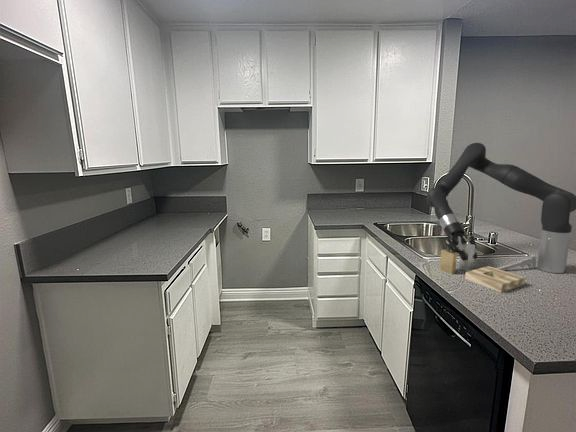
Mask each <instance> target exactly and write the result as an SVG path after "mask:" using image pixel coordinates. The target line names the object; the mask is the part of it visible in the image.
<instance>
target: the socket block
mask: <svg viewBox="0 0 576 432" xmlns="http://www.w3.org/2000/svg"><path fill="white" fill-rule="evenodd" d="M496 268H497V267H496ZM496 268H495V267H492V266H489V265H487V266H485V267H480V268H476V269H473V270H470V271H465V277H464V278H465V280H466V281H469V282H471V283H475V284H477V285H480V286H483V287H484V288H488V289H490V290H494V291H496V292H499V293H504V292H507V291H510V290H512V289H516V288H520V287H522V286H525V281H526V277H524V276H522V275H518V274H515V273H512V272H509V271H507V270H504V271H503V270H499V269H496Z"/></svg>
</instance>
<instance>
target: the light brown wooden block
mask: <svg viewBox="0 0 576 432" xmlns="http://www.w3.org/2000/svg"><path fill="white" fill-rule="evenodd" d="M457 254H458V253H457V252H452V250H449V249H440V261H439V270H440V271H442V272H445V273H448V274H450V275H454V274H455V275H456V271H457V270H456V269H457V257H458V255H457Z"/></svg>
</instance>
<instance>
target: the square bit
mask: <svg viewBox="0 0 576 432" xmlns="http://www.w3.org/2000/svg"><path fill="white" fill-rule="evenodd" d="M461 247H462V251H464V253H465V255H466V256H467V260H465V261H463V260H462V259H461V257H460V256H459V257H458V269H459V270H461V271H464V272H468V271H472V270H474V267H475V266H474V264H475V259H474V255H475V253H476V248H475V245H473V244H469V243H464V244H461Z"/></svg>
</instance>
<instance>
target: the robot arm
mask: <svg viewBox="0 0 576 432" xmlns="http://www.w3.org/2000/svg"><path fill="white" fill-rule="evenodd" d="M486 148H487V147H486V146H485V145H484V144H483V143H482V142H481V143H480V142H474V143H470V144H468V145H467V146H466V147H465V149H464V151H463V152H462V154H461V155H460V156H459V158H458V159H457V161H456V162H455V164H454V165H453V166H452V168H451V169H449V171H448V172H447V174H445V175H444V176H443V178H442V179H440V181H439V182H438V183H437V186H436V187H432V188H430V189H429V190H428V192H427V196H426V204H427V205H428V206H429V208H433V209H434V214H435V217H436V218H437V220H438V222H439V224H440V227H441V228H442V230H443V232H444V234H445V236H446V237H447V239H446V240H445V241H444V243H445V245H446V246H447V247H448V248H449V250H450V251H452V252H455V253H457V254H458V256H459V257H461V259H462V260H463V261H465V260H467V256H466V255H465V253H464V251H462V247H461V244H464V243H469V244H473V245H475V249H477V247H478V246H477V244H476V241H475V238H474V236H473V235H471V236H468V235H466V233H465V228H464V227H463V225H462V224H461V222H460V220H459V219H458V218H457V216H456V215H455V214H454V212H453V210H452V208H451V207H450V205H449V202H448V200H447V199H448V196H449V194H450V193H451V192H452V191H453V190H454V189H455V188H456V187H457V186H458V185H459V183H460V182H461V181H462V179H463V178H464V175H465V173H466V172H467V170H468V169H469V168H471V169H473V170H475V171H478V172H481V173H482V174H484V175H487V176H488V177H490V178H493V180H496V181H498V182H499V183H500V184H502V185H504V186H506V187H508V188H510V189H511V190H513V191H516V192H519V193H523V194H525V195H529V196H531V197H534V198H537V199H539V200H541V202H542V206H541V215H540V222H541V223H540V224H541V233H540V239H539V240H540V241H539V248H538V254H537V255H538V256H537V261H536V268H537V269H538V270H540V271H543V272H547V273H552V274H564V273H565V272H566V267H567V261H568V255H569V248H570V243H571V234H572V228H573V226H572V224H571V223H570V215H571V213H572V212H575V211H576V195H575V194H574V193H572V192H570V191H568V190H566V189H564V188H563V189H562V188H560V187H557V186H554V185H552V184H550V183H548V182H546V181H544V180H542V179H541V178H540V177H538V176H535V175H534V174H532V173H530V172H528V171H526V170H525V169H522V168H520V167H519V166H517V165H514V164H509V163H508V164H506V163H505V164H504V163H503V164H499V163H496V162H494V161H491V160H490V159H488V158H487V157H486V154H487V149H486ZM477 258H478V254H477V253H476V252H475V255H474V260H476V259H477Z"/></svg>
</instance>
